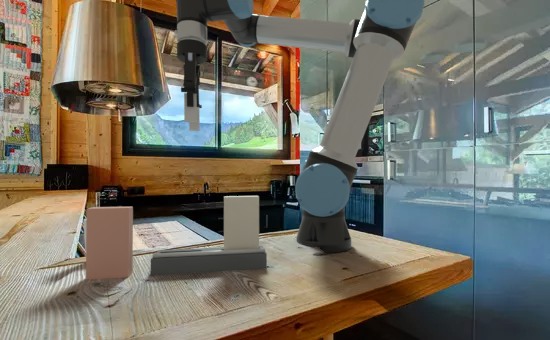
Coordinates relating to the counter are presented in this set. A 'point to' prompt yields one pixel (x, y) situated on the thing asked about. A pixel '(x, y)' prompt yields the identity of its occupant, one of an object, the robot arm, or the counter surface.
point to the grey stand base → (207, 260)
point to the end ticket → (109, 242)
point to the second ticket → (241, 222)
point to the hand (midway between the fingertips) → (192, 126)
